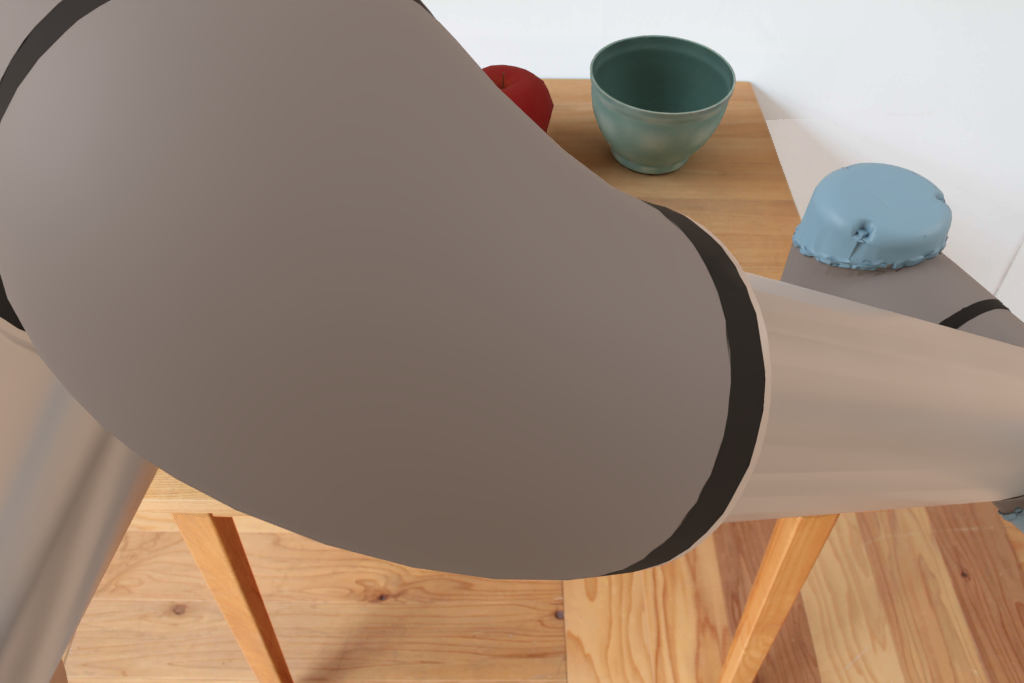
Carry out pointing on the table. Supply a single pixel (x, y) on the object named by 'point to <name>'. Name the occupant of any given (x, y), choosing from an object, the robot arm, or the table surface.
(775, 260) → the table surface
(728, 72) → the flower pot
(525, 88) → the apple
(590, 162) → the table surface
